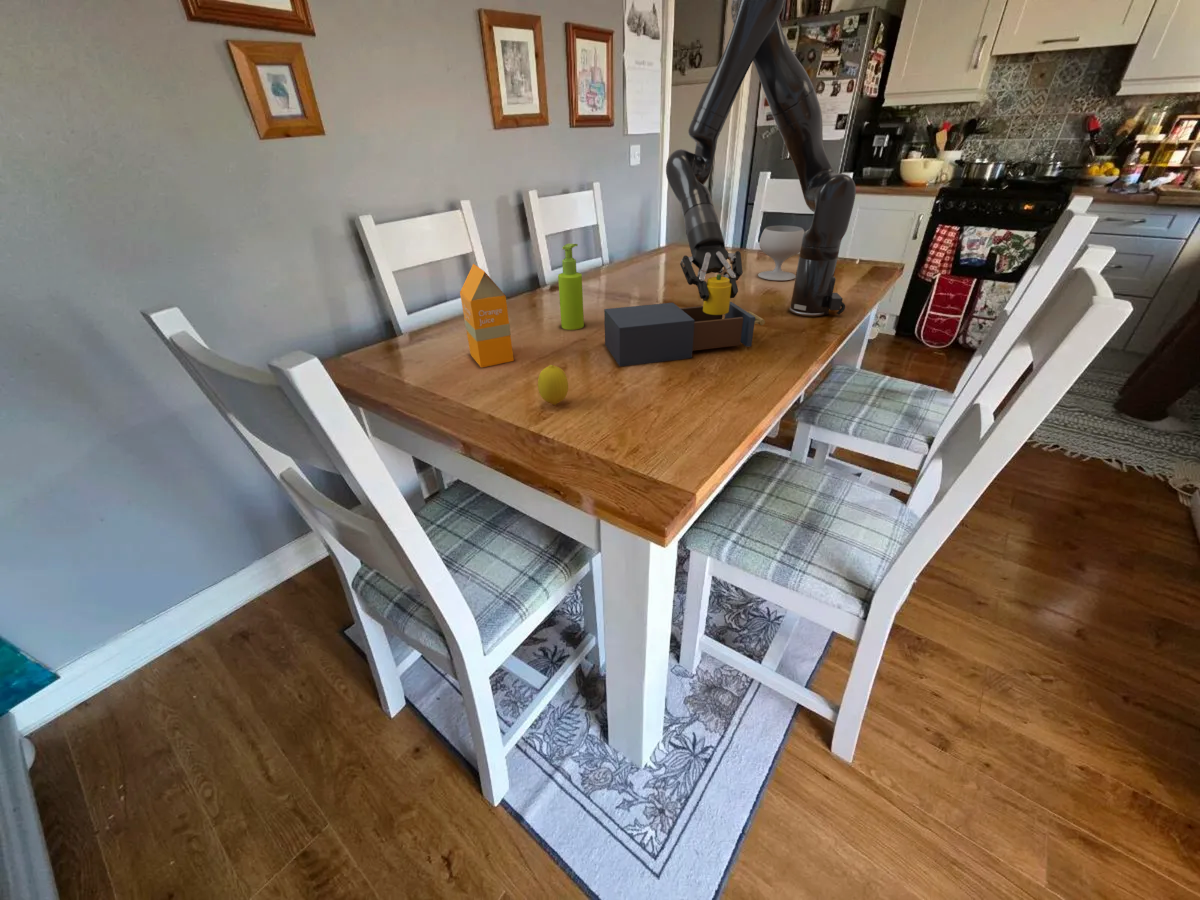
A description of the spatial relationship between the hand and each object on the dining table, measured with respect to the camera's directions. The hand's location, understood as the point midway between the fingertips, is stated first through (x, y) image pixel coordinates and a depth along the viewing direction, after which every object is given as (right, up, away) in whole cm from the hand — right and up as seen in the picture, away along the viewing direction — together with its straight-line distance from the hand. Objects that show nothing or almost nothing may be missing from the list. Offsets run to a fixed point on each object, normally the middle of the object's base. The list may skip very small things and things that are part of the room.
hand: (720, 297), depth 113 cm
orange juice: (-51, -13, +4) cm, 53 cm away
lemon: (-35, -25, -17) cm, 47 cm away
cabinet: (-16, -11, +5) cm, 20 cm away
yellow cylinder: (0, -2, +3) cm, 4 cm away
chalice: (+32, +24, +58) cm, 70 cm away
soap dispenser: (-34, -1, +21) cm, 40 cm away
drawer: (+1, -8, +7) cm, 11 cm away
